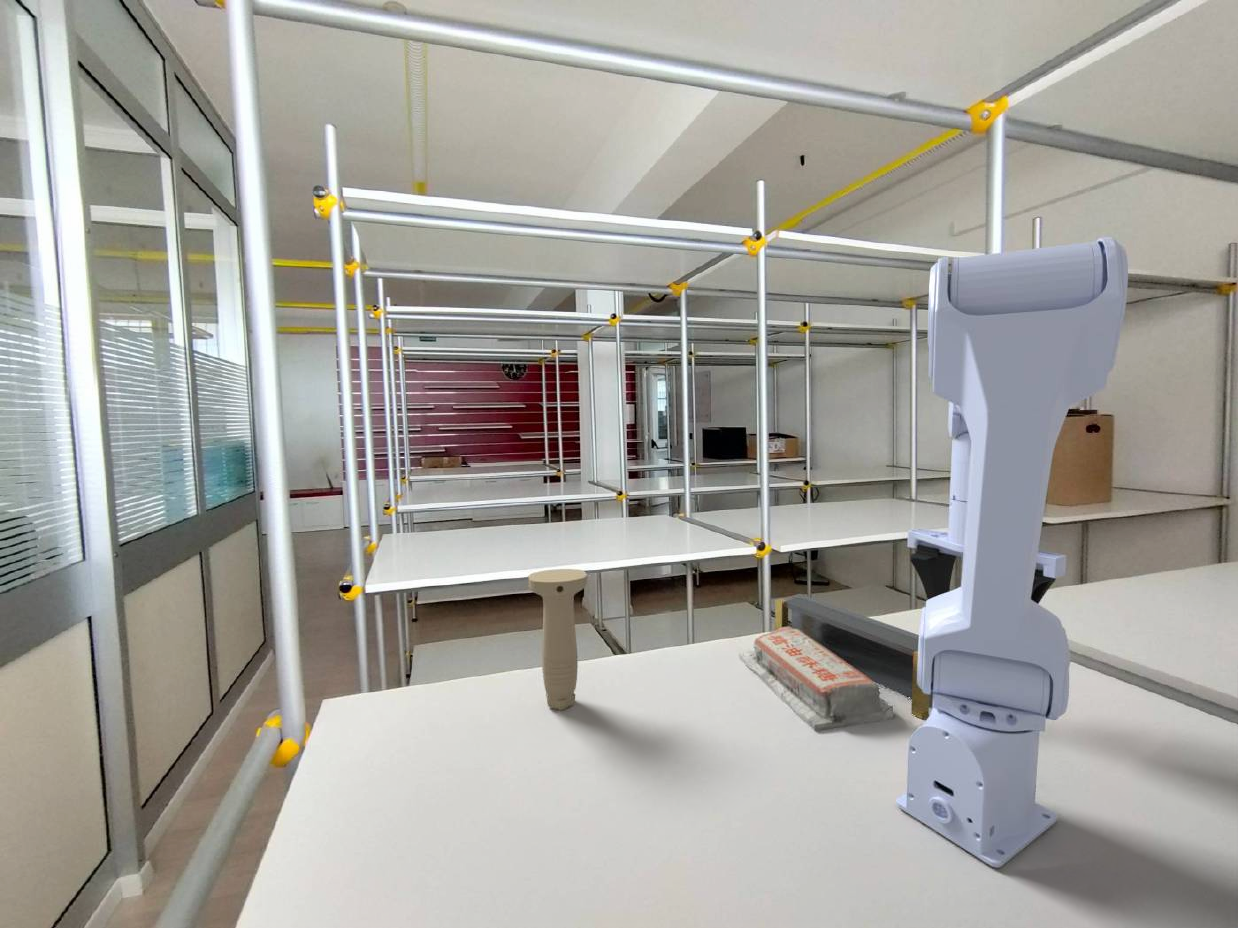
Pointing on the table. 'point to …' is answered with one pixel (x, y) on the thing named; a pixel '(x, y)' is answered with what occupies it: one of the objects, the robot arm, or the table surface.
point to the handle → (559, 632)
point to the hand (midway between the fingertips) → (975, 627)
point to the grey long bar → (861, 645)
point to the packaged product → (815, 681)
